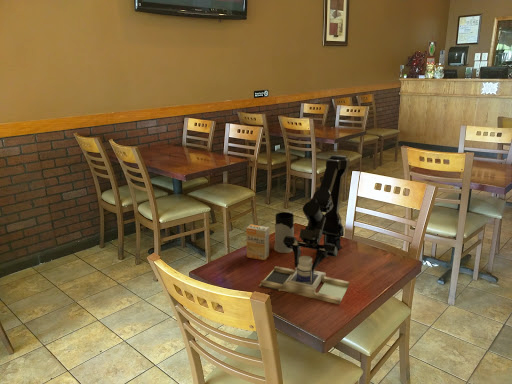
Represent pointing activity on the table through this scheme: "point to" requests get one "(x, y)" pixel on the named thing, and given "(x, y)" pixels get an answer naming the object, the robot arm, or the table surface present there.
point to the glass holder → (283, 230)
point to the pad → (333, 290)
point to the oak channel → (305, 289)
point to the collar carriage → (293, 280)
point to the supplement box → (257, 242)
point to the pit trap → (277, 278)
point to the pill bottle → (305, 270)
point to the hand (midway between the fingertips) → (304, 269)
